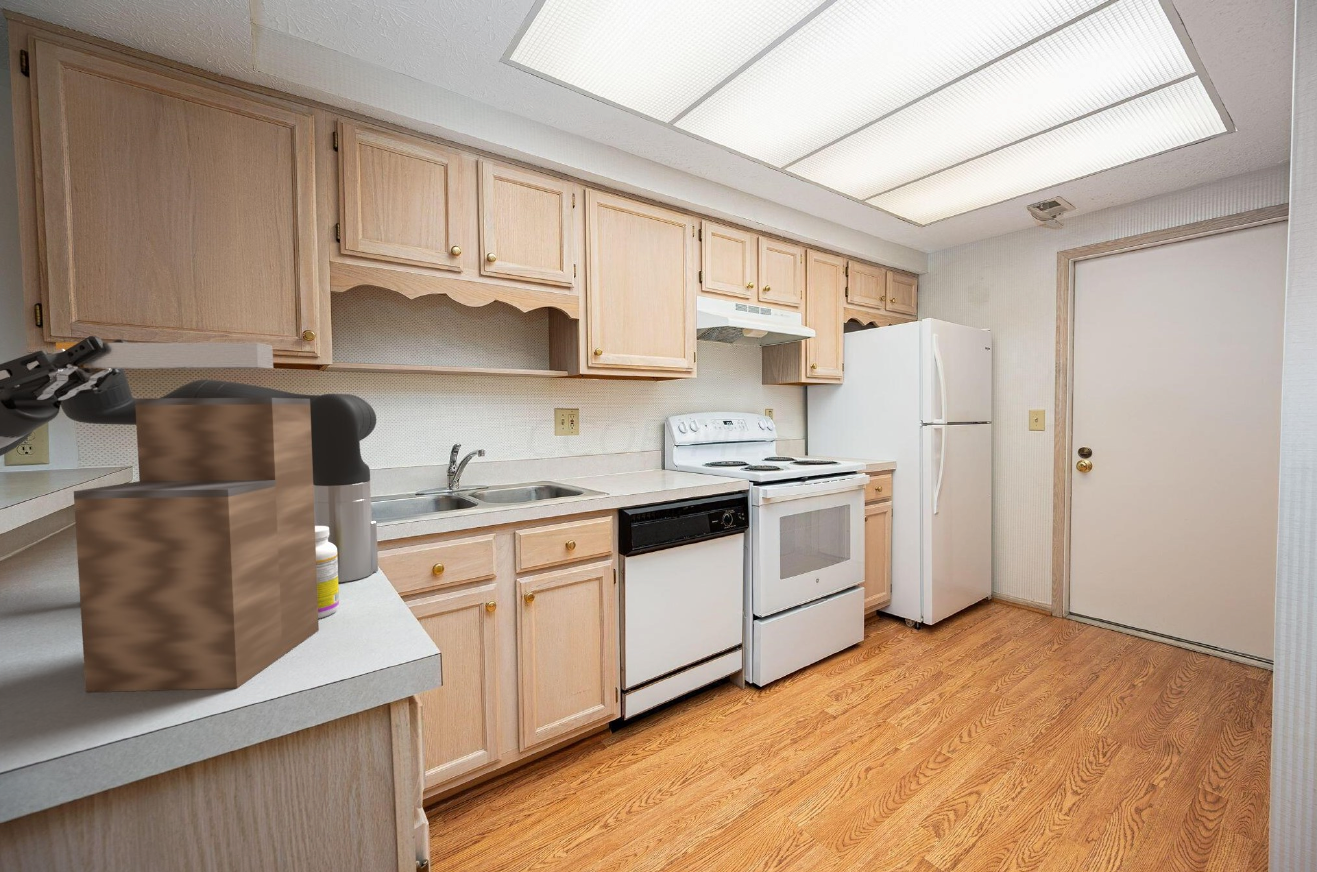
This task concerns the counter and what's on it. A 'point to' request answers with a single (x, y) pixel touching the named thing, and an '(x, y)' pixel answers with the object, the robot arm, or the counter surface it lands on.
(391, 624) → the counter surface
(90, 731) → the counter surface
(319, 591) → the supplement bottle
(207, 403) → the stand
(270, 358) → the bar
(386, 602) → the counter surface
